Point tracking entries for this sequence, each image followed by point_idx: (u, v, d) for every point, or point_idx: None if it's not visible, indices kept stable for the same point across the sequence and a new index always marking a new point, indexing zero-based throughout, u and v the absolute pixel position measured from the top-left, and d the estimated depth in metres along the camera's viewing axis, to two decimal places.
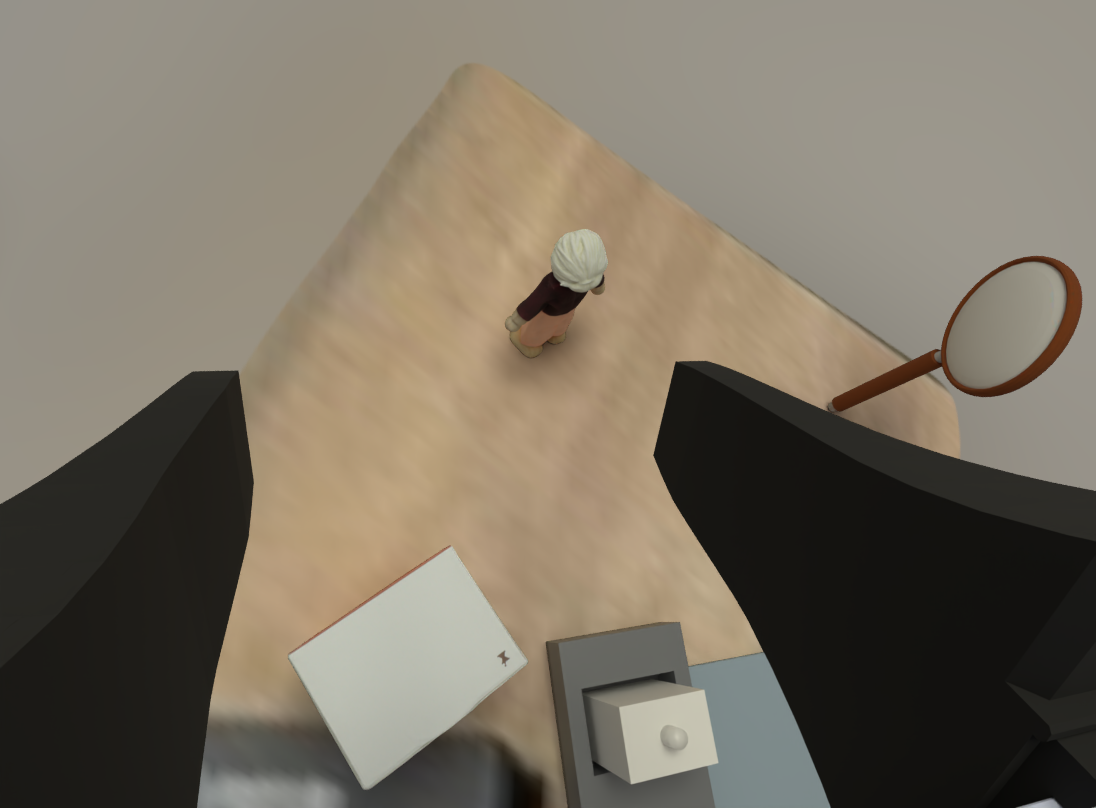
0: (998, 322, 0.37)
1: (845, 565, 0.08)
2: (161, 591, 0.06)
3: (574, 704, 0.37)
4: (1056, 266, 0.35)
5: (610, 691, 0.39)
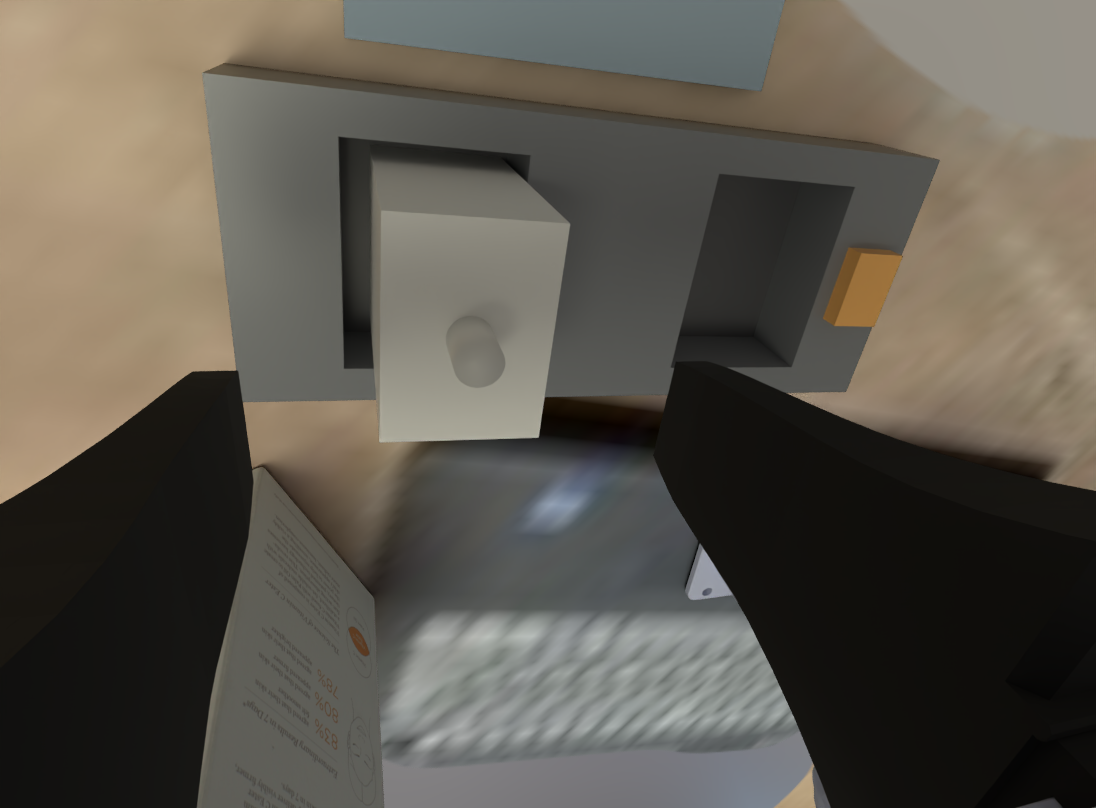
0: None
1: (845, 564, 0.08)
2: (161, 591, 0.06)
3: (372, 385, 0.18)
4: None
5: (371, 286, 0.18)
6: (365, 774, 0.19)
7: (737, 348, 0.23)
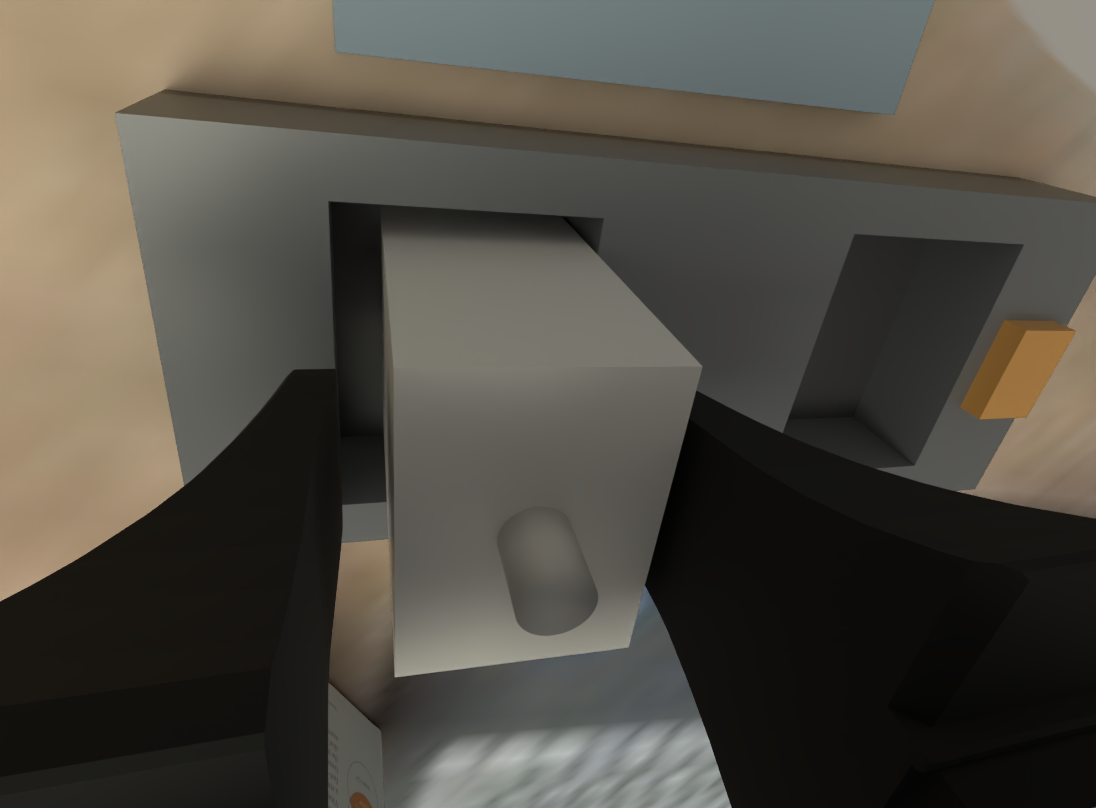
0: None
1: (749, 577, 0.07)
2: (314, 575, 0.06)
3: (378, 523, 0.13)
4: None
5: None
6: None
7: (840, 437, 0.18)
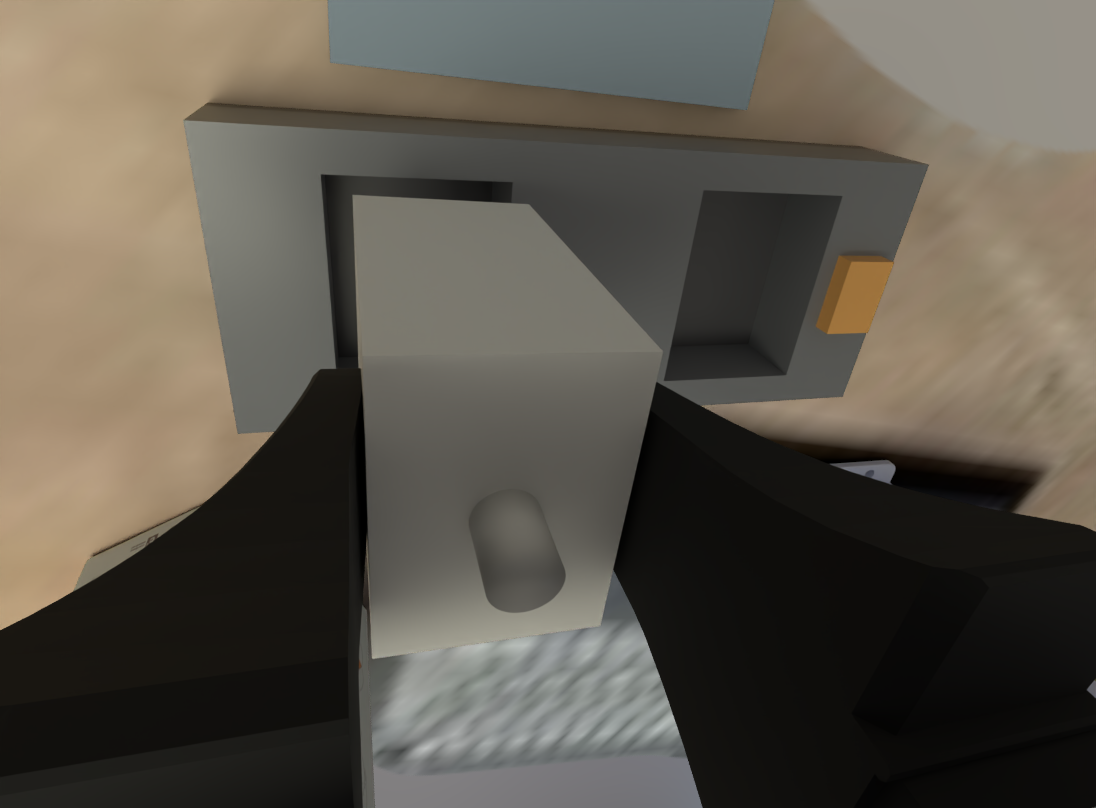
0: None
1: (720, 581, 0.07)
2: (353, 571, 0.06)
3: None
4: None
5: None
6: None
7: (731, 357, 0.23)
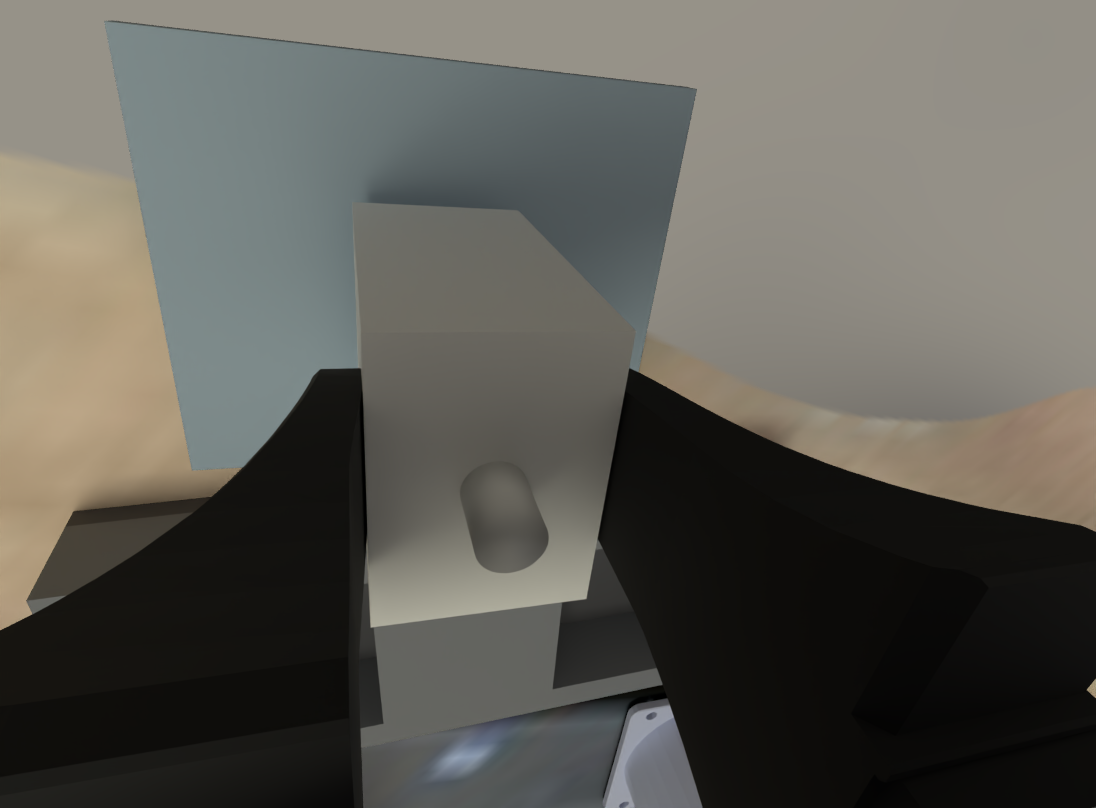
0: None
1: (720, 582, 0.07)
2: None
3: None
4: None
5: None
6: None
7: (629, 635, 0.23)
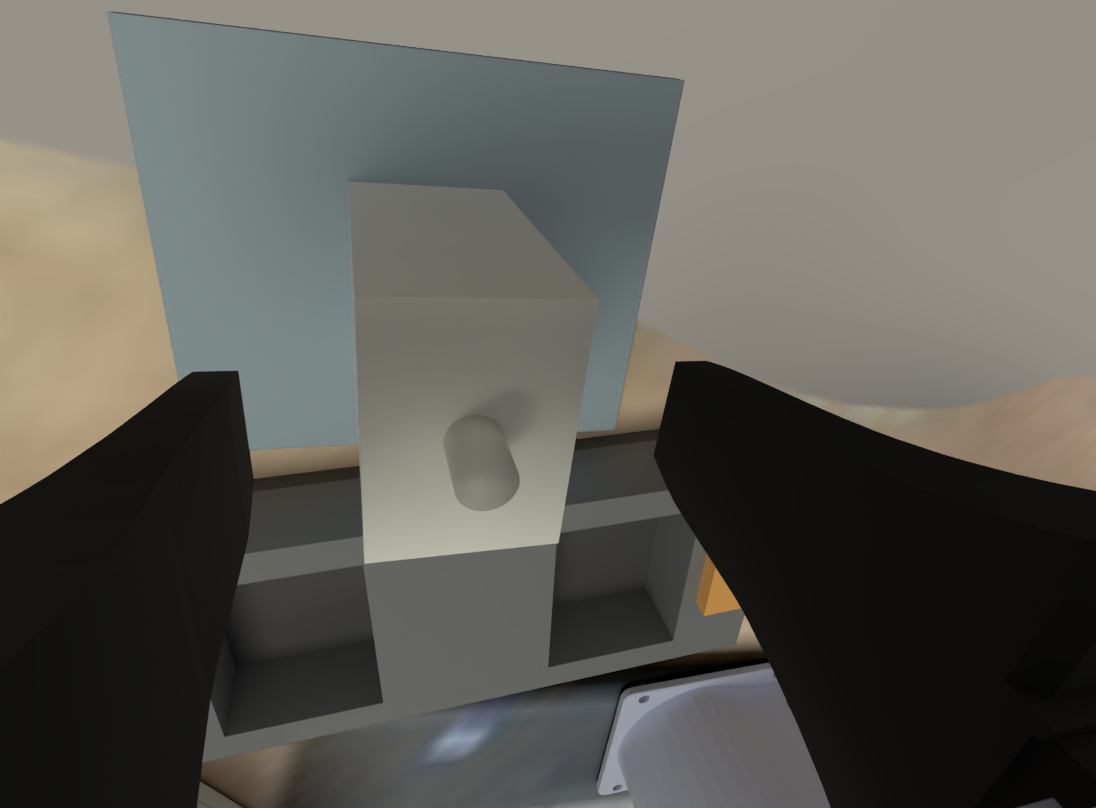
0: None
1: (845, 565, 0.08)
2: (161, 591, 0.06)
3: (255, 741, 0.20)
4: None
5: (354, 348, 0.15)
6: None
7: (624, 614, 0.24)
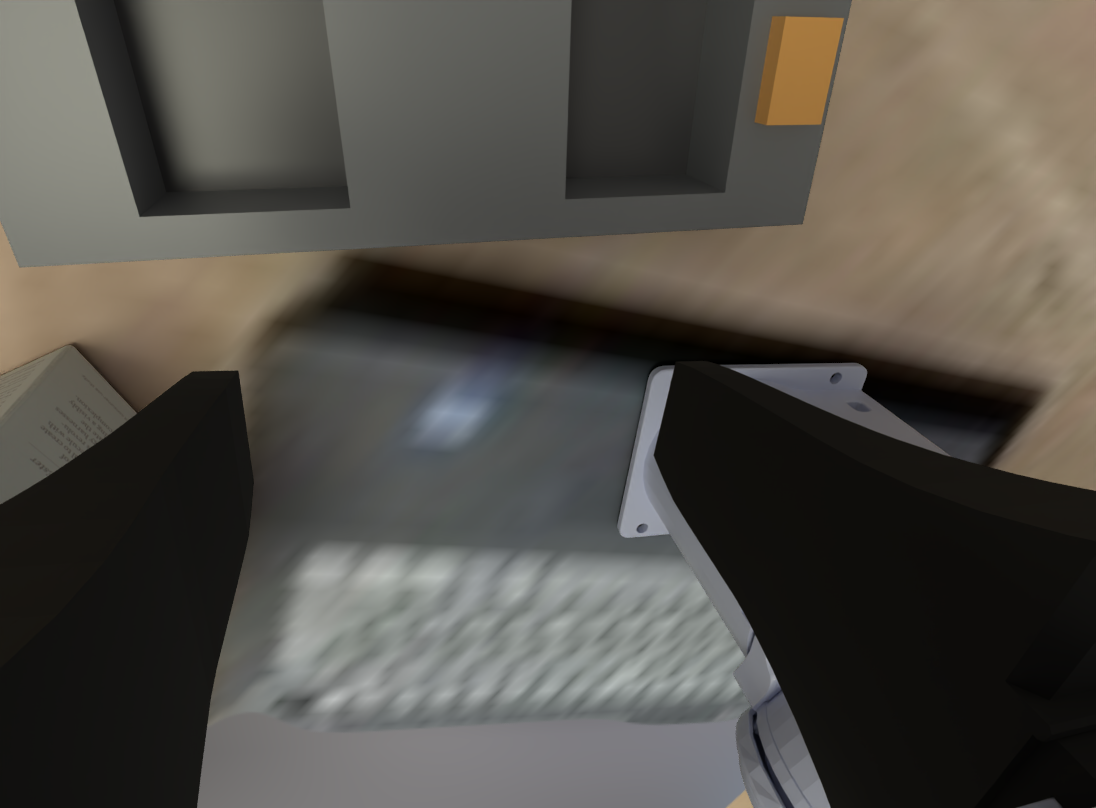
0: None
1: (845, 565, 0.08)
2: (161, 591, 0.06)
3: (182, 239, 0.15)
4: None
5: None
6: None
7: (661, 183, 0.19)
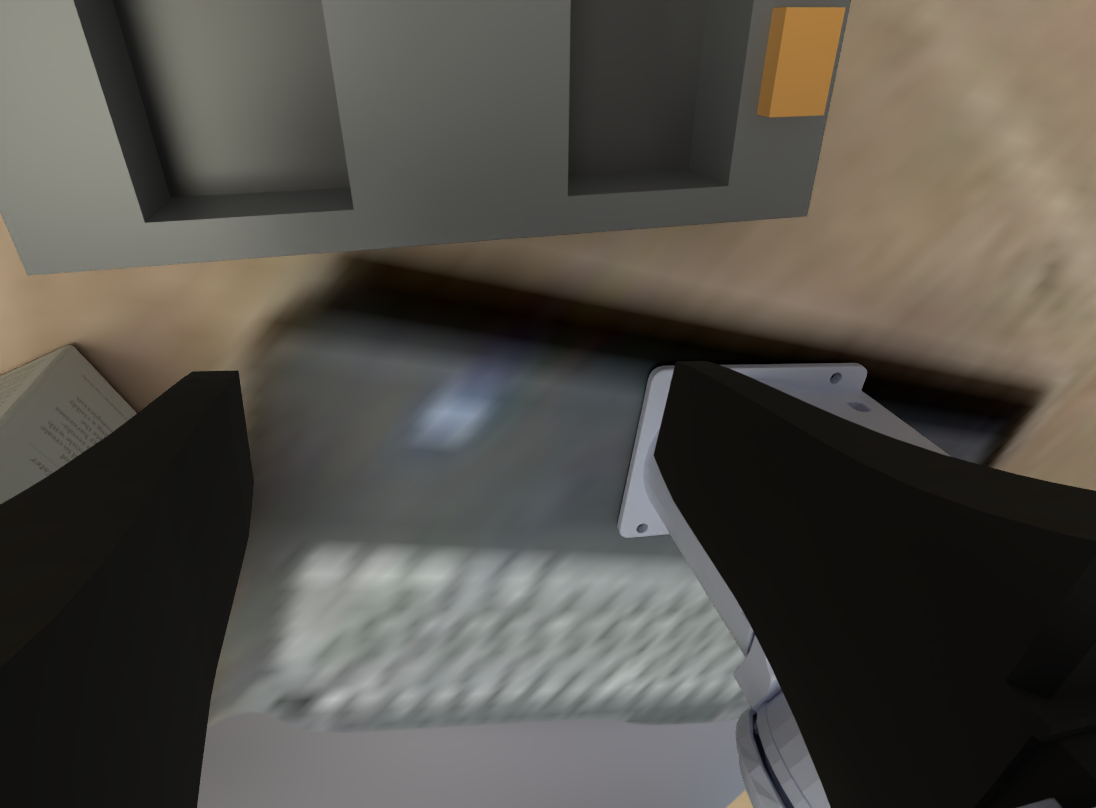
0: None
1: (845, 565, 0.08)
2: (161, 591, 0.06)
3: (187, 244, 0.15)
4: None
5: None
6: None
7: (663, 177, 0.19)
